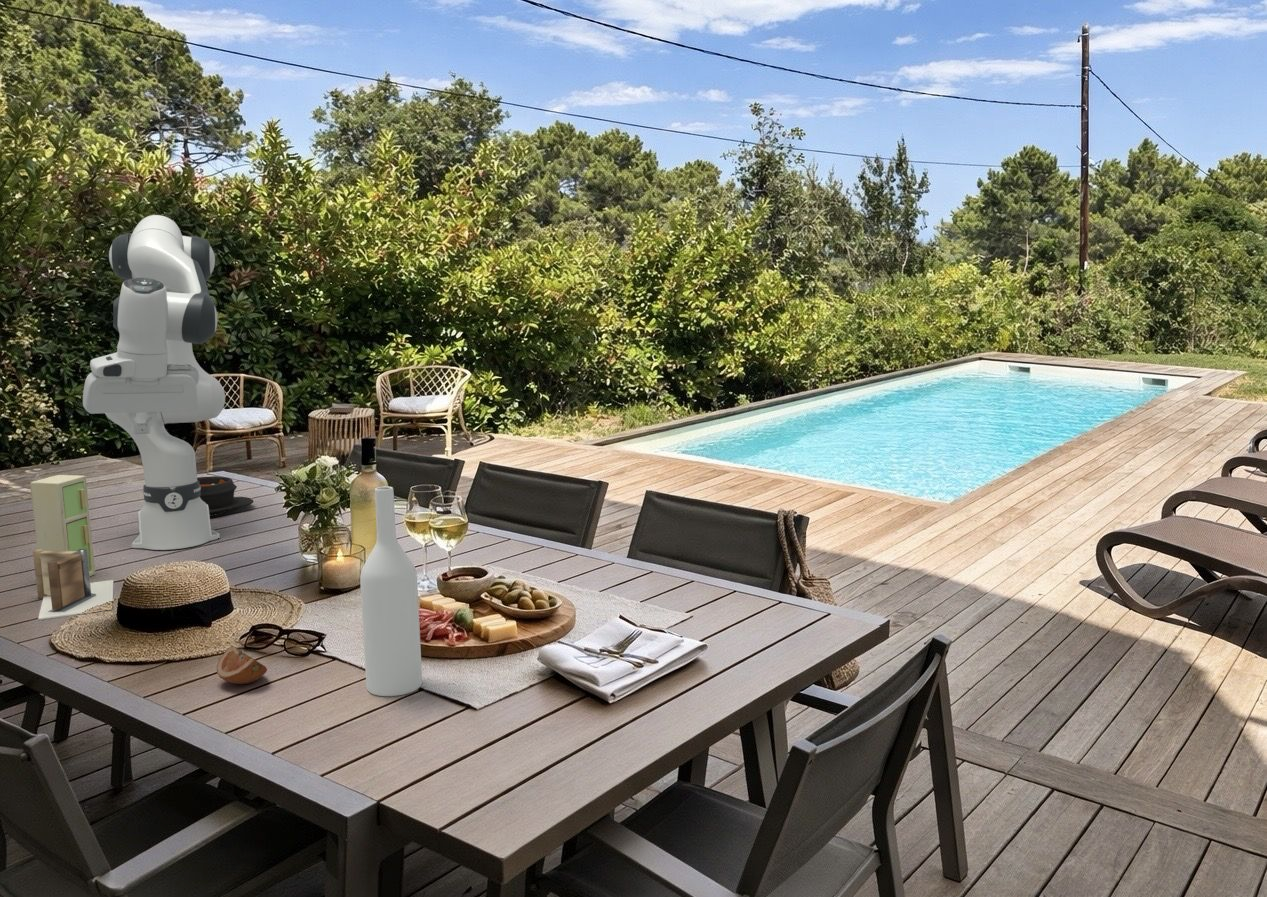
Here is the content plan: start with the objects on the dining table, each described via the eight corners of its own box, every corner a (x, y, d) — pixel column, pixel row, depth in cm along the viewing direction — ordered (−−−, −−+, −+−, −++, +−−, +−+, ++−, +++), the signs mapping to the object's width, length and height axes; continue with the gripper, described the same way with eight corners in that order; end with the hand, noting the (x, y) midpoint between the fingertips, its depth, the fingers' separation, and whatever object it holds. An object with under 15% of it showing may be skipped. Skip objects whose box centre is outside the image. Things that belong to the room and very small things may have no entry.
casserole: (244, 500, 288) (242, 471, 287) (262, 512, 273) (259, 481, 271) (146, 512, 275) (143, 481, 273) (158, 526, 259) (155, 493, 258)
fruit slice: (276, 685, 156) (274, 653, 155) (232, 697, 152) (229, 664, 151) (253, 670, 162) (251, 639, 161) (210, 681, 158) (207, 650, 157)
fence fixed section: (93, 596, 201) (88, 548, 200) (88, 599, 200) (83, 551, 198) (41, 595, 202) (36, 548, 201) (35, 598, 200) (30, 550, 199)
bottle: (371, 700, 149) (359, 495, 145) (362, 681, 157) (350, 485, 152) (427, 691, 153) (417, 490, 148) (416, 672, 160) (406, 480, 155)
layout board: (45, 589, 206) (45, 587, 206) (113, 581, 211) (113, 579, 211) (38, 620, 187) (38, 618, 187) (112, 610, 193) (112, 608, 193)
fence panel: (77, 596, 199) (72, 551, 198) (86, 596, 199) (81, 551, 197) (49, 609, 191) (44, 563, 190) (59, 609, 191) (54, 563, 189)
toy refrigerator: (71, 585, 209) (60, 482, 205) (39, 584, 210) (28, 481, 207) (99, 574, 216) (89, 475, 213) (68, 573, 218) (58, 474, 214)
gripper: (194, 360, 209) (192, 426, 213) (81, 360, 197) (80, 430, 200) (203, 368, 204) (201, 435, 208) (87, 368, 192) (86, 440, 196)
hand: (141, 433), depth 204 cm, fingers closed
